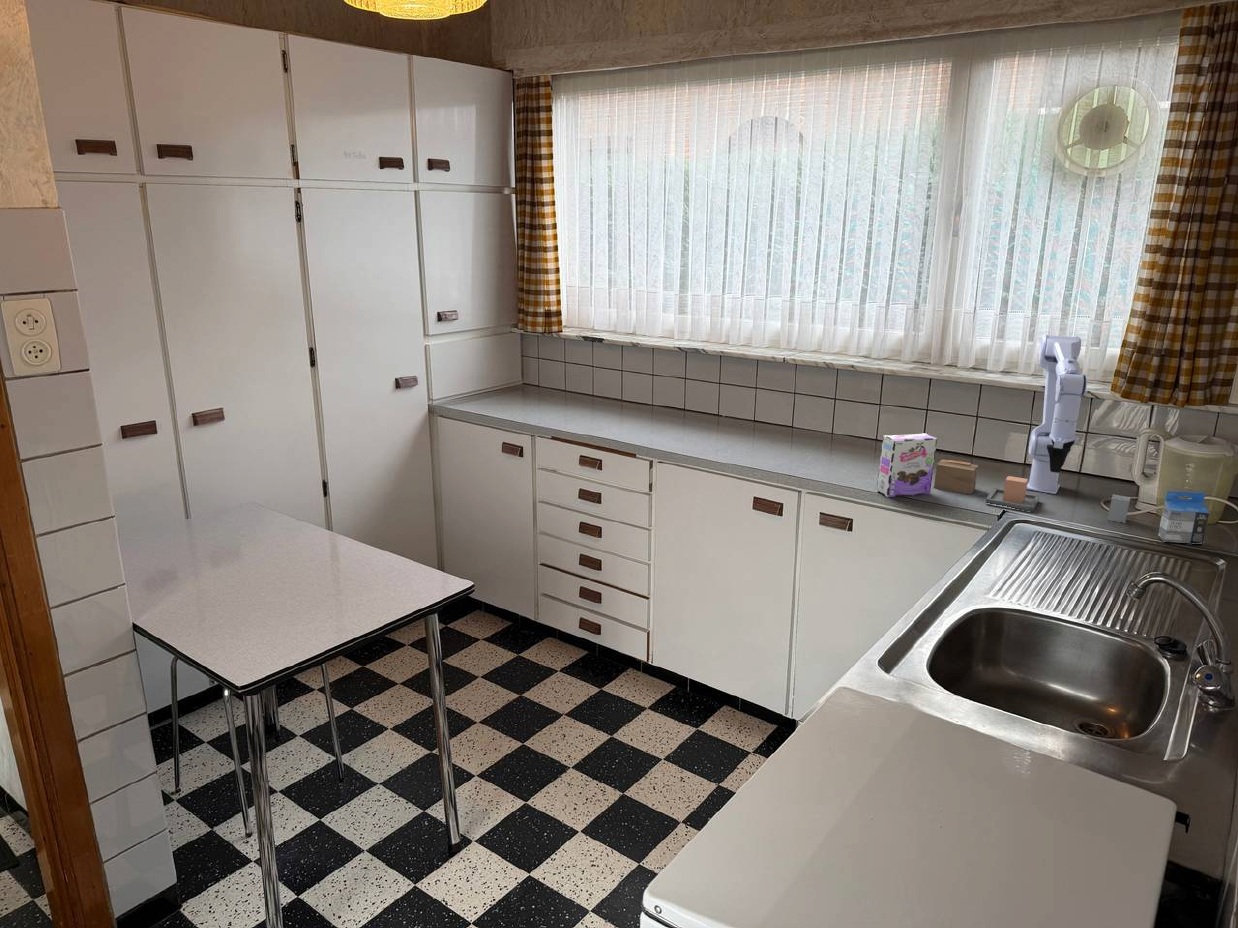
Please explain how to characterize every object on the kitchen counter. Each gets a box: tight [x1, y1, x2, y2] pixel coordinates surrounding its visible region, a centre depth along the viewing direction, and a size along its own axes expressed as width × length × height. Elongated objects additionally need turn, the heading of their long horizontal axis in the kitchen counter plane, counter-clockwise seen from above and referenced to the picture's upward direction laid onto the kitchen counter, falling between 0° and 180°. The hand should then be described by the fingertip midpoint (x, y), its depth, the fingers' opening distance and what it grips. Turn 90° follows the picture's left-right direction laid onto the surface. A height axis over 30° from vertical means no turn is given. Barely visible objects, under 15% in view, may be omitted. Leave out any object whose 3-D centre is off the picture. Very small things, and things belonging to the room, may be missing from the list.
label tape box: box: [1157, 490, 1210, 543], centre depth 210 cm, size 9×4×12 cm, turn 82°
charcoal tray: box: [985, 487, 1040, 513], centre depth 237 cm, size 12×12×2 cm
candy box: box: [875, 432, 938, 498], centre depth 241 cm, size 14×6×16 cm, turn 105°
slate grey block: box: [1107, 494, 1131, 524], centre depth 225 cm, size 4×4×6 cm
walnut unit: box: [933, 459, 979, 495], centre depth 248 cm, size 7×10×7 cm, turn 58°
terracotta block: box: [1002, 475, 1029, 504], centre depth 236 cm, size 4×5×6 cm
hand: (1056, 468), depth 233 cm, fingers open, 7 cm apart
